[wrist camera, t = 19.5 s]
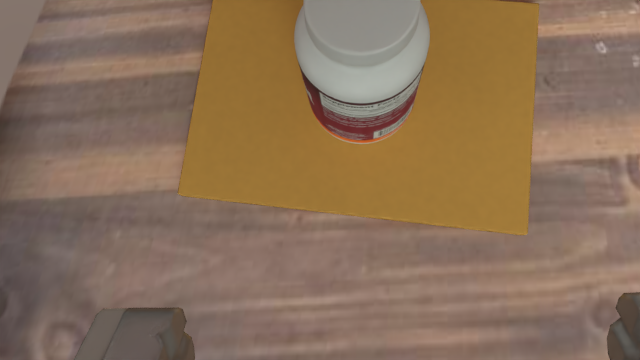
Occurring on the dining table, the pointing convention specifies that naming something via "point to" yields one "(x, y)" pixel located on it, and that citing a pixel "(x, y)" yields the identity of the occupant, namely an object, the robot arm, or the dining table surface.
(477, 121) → the amber mat
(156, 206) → the dining table surface
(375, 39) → the pill bottle
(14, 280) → the dining table surface
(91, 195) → the dining table surface
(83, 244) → the dining table surface
